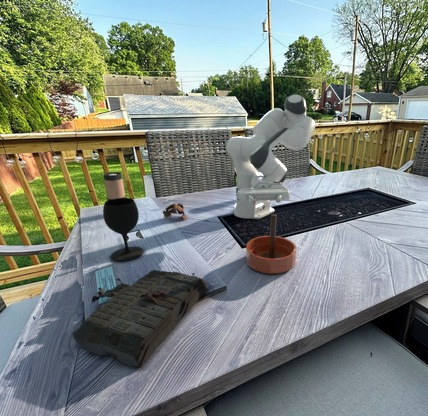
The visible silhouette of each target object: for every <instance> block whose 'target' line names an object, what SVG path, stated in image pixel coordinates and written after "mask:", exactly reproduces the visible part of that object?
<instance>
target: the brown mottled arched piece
mask: <svg viewBox="0 0 428 416" xmlns="http://www.w3.org/2000/svg"><path fill="white" fill-rule="evenodd" d="M162 214H163V218H164V219H168V218H172V214H173V215H177V214H178V215H182V216H181V218H182V220H183V221H185V220H186V218H187V216H186V212H185V211H184V205H183V204H182V203H179V202H178V203H177V204H176V203H172V204H170V205H167V207H166V208H164V210H163V211H162Z"/></svg>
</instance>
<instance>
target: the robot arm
mask: <svg viewBox="0 0 428 416" xmlns="http://www.w3.org/2000/svg"><path fill="white" fill-rule="evenodd" d="M315 130H316V122H315V120H314V119H313V118H312V117H310V116H308V115H307V103H306V99H305V98H304V96H302V94H297V93H294V94H290V95H288V96H287V97H286V98H285V101H284V110H283V109H281V108H280V107H279V108H278V107H275V108H272V109H271V110H269V111H268V112H267V113H266V114H264V115H263V116H262V117H261V118H260V119H259V120H258V122H257V123H256V124H255V125H253V129H252V134H253V135H252V136H250V137H247V136H233V137H230V138H229V139H227V141H226V145H225V150H226V153H227V155H229V157H230V158H231V160H232V162H233V165H234V168H235V172H236V187H235V198H236V202H235V204H234V211H233V215H234V216H235V217H237V218H240V219H253V220H261V219H262V218H264V217H266V216H268V215H271V214H274V213H275V209H274V208H273V207H272V206H271V202H272V201H274V202H276V203H280V204H281V202H282V201H289V200H290V197H291V192H290V190H289V188H288V187H287V186H286V185H284V182H285V180H286V179H287V176H288V168H287V167H286V166H285V164H284V163H282V161H280V160H279V158H278V157H277V156H276V155H275V153H273V148H275V146H277V145H278V144H280V145H281V146H284V147H286V148H287V149H289V150H292V151H299V150H303V149H304V148H305V147H306V146H307V145H308V143H309V142H310V140H311V139H312V136H313V134H314V132H315Z"/></svg>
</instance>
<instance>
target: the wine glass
mask: <svg viewBox="0 0 428 416" xmlns="http://www.w3.org/2000/svg"><path fill="white" fill-rule="evenodd" d="M102 217H103V221H104V223H105V225H106V226H107V228H108V229H110V231H112V232H115V233H116V234H118V235H119V234H120V235H121V236H122V239H123V243H124V247H122V248H119V249H116V250H115V251H114V252H112V253H111V255H110V259H111V260H112V261H114V262H119V263H125V262H130V261H134V260H136V259H138V258H140V257H142V255H143V254H144V249H143V248H142V247H140V246H129V243H128V234H129V233H130V232H132V231H133V230H134V229H135V228H136V226H137V225H138V222H139V217H140V215H139V209H138V206H137V203H136V201H135V199H133V198H131V197H125V198H116V199H111V200H106V201H104V203H103V209H102Z"/></svg>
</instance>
